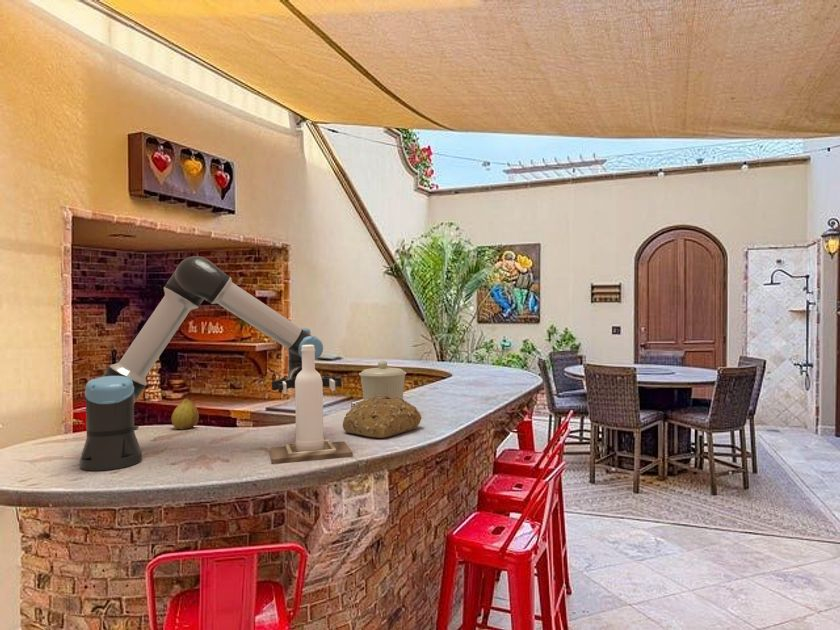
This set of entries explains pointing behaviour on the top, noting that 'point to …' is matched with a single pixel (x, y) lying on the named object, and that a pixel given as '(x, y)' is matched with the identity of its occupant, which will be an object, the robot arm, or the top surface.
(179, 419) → the fruit
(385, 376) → the canister
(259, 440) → the top surface
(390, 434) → the bread
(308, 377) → the bottle
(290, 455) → the serving board
